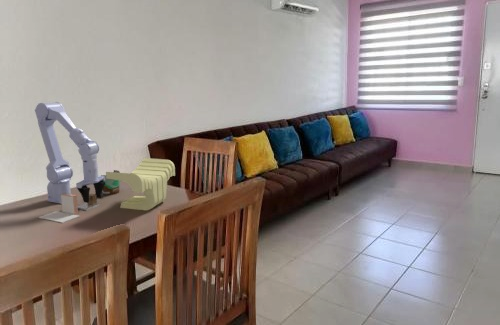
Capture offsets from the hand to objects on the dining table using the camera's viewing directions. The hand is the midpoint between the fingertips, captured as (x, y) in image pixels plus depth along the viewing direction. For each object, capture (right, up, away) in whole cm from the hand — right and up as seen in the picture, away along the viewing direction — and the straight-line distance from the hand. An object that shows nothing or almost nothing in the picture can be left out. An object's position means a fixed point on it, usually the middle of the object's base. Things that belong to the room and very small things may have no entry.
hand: (92, 200), depth 173 cm
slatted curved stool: (+22, -2, +2) cm, 22 cm away
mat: (-7, -5, -15) cm, 18 cm away
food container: (+3, +1, +19) cm, 20 cm away
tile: (-5, -4, -11) cm, 13 cm away
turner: (-1, -3, -2) cm, 4 cm away
